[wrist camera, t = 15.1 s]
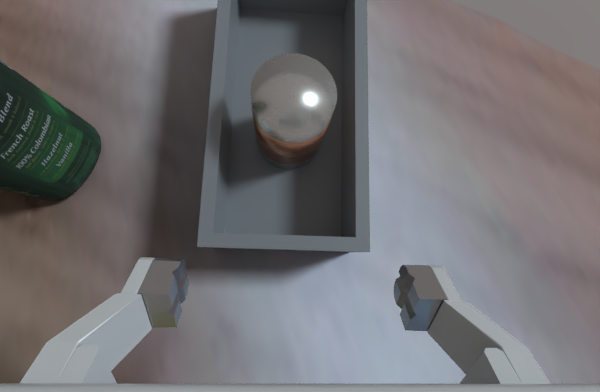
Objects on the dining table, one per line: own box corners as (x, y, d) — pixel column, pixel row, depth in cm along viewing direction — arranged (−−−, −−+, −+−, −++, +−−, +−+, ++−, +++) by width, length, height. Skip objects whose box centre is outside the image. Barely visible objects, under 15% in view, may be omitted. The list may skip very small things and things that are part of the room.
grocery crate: (349, 15, 33) (366, -37, 27) (350, 252, 28) (369, 251, 22) (231, 5, 32) (222, -51, 26) (213, 248, 27) (196, 246, 22)
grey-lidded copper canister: (319, 111, 29) (337, 55, 21) (319, 171, 28) (338, 136, 20) (258, 108, 29) (251, 49, 21) (255, 168, 28) (247, 132, 20)
